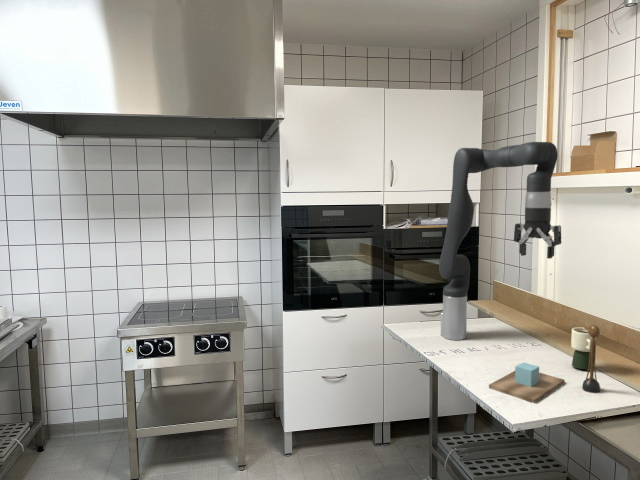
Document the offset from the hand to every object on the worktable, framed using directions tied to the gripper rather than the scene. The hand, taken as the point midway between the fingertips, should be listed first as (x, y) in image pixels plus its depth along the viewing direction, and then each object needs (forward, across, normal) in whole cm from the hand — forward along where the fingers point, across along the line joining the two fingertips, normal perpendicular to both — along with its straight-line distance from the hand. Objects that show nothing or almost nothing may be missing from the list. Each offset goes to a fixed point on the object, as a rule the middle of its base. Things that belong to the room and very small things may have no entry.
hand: (536, 256), depth 156 cm
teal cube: (+37, +4, -12) cm, 39 cm away
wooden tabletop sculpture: (+38, +18, -1) cm, 42 cm away
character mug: (+38, +10, +14) cm, 42 cm away
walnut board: (+38, +4, -12) cm, 40 cm away
